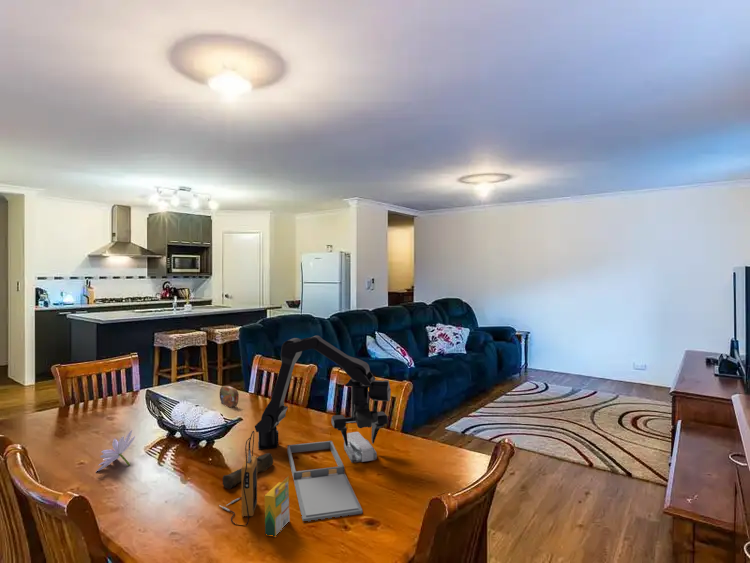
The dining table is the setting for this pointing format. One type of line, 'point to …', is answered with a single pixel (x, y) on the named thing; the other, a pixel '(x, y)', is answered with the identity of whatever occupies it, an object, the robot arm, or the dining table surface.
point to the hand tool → (236, 476)
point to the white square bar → (360, 446)
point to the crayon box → (277, 508)
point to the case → (323, 487)
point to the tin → (229, 396)
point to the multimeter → (248, 484)
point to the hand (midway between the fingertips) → (359, 444)
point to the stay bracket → (353, 456)
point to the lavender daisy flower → (116, 451)
